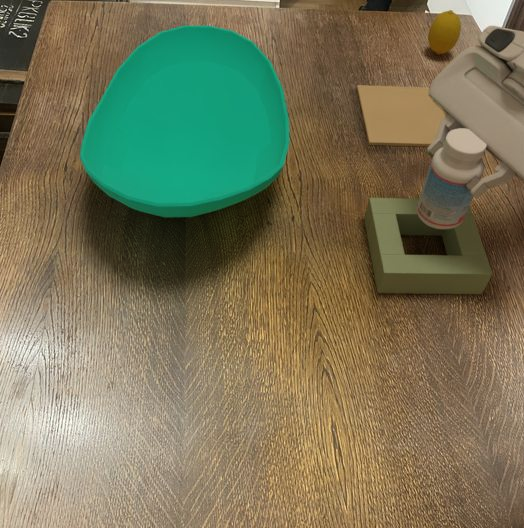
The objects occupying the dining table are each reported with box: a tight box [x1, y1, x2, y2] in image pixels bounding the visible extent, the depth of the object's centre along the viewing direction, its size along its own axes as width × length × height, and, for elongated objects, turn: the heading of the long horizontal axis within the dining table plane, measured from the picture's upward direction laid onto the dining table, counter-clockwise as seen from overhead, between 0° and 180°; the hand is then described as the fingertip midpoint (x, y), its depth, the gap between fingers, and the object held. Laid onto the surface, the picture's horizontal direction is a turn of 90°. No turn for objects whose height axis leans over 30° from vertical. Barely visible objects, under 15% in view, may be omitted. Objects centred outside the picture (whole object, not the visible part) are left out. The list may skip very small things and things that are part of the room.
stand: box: [363, 197, 493, 295], centre depth 82 cm, size 14×14×4 cm
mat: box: [356, 84, 446, 148], centre depth 102 cm, size 14×16×1 cm
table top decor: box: [79, 24, 291, 218], centre depth 84 cm, size 40×28×13 cm
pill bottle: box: [417, 128, 487, 229], centre depth 73 cm, size 6×6×11 cm
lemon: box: [427, 9, 462, 56], centre depth 111 cm, size 6×6×8 cm
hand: (450, 174), depth 72 cm, fingers closed on pill bottle, 6 cm apart
